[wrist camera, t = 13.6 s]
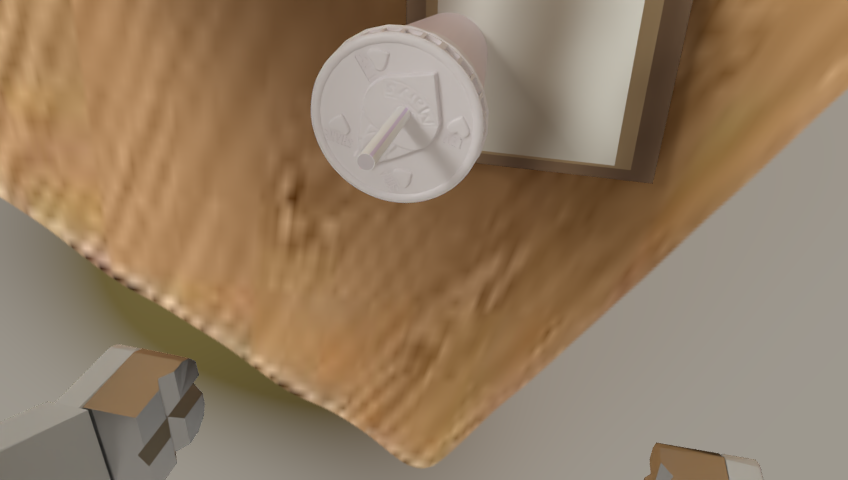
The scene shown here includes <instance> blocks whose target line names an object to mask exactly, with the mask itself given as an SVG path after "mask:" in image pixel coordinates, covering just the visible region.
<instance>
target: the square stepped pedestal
mask: <svg viewBox="0 0 848 480" xmlns="http://www.w3.org/2000/svg"><path fill="white" fill-rule="evenodd" d="M692 3H693V0H407V17H406V25H407V24H410V23H413V22H416V21H419V20H422V19H424V18H427V17H430V16H433V15H436V14H439V13H446V12H449V13H457V14H460V15H463V16H465V17H467V18H468V19H470V20H471V21H472V22H474V23H475V24H476V25H477V26H478V28H479V29H480V30H481V32H482V34H483V36H484V38H485V41H486V44H487V51H488V55H487V66H486V75H485V84H484V91H485V96H486V101H487V105H488V110H489V117H488V133H487V137H486V140H485V143H484V146H483V148H482V151H481V154H480V156H479V157H478V159H477V160H476V162H475V163H480V164H488V165H497V166H506V167H514V168H523V169H532V170H540V171H549V172H557V173H566V174H575V175H583V176H592V177H601V178H609V179H618V180H627V181H635V182H644V183H652V184H653V180H654V175H655V171H656V166H657V162H658V157H659V153H660V148H661V144H662V139H663V135H664V130H665V125H666V121H667V116H668V112H669V107H670V103H671V98H672V94H673V89H674V85H675V80H676V75H677V71H678V66H679V62H680V57H681V53H682V48H683V44H684V39H685V35H686V30H687V25H688V21H689V16H690V12H691V7H692Z"/></svg>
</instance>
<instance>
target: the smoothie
mask: <svg viewBox="0 0 848 480" xmlns="http://www.w3.org/2000/svg"><path fill="white" fill-rule="evenodd" d="M487 55H488V51H487V44H486V41H485V38H484V36H483V34H482V32H481V30H480V29H479V28H478V26H477V25H476V24H475V23H474V22H472V21H471V20H470V19H468V18H467V17H465V16H463V15H460V14H457V13H449V12H446V13H439V14H436V15H433V16H430V17H427V18H424V19H422V20H419V21H416V22H413V23H410V24H407V25H392V24H387V25H383V26H378V27H374V28H369V29H365V30H363V31H362V32H360V33H358V34H356V35H355V36H353V37H351V38H349V39H347V40H346V41H345V42H344V43H343V44H342V45H341V46H340V47H339V48H338V49H337V50H336V51H335V52H334V53H333V54H332V55H331V56H330V57H329V58H328V60H327V61H326V62H325V64H324V65H323V67H322V68H321V70H320V72H319V74H318V76H317V78H316V81H315V84H314V87H313V92H312V98H311V119H312V126H313V130H314V134H315V136H316V139H317V142H318V144H319V146H320V149H321V150H322V152H323V154H324V156H325V157H326V159H327V160H328V162H329V163H330V164H331V166H332V167H333V168H334V169H335V171H336V172H337V173H338V174H339V175H340V176H341V177H343V178H344V179H345V180H346V181H347V182H348V183H350V184H351V185H352V186H354V187H355V188H357V189H359V190H360V191H362V192H364V193H366V194H368V195H371V196H373V197H375V198H379V199H382V200H386V201H390V202H397V203H415V202H422V201H426V200H430V199H433V198H436V197H438V196H440V195H443V194H445V193H446V192H448V191H450V190H451V189H452V188H454V187H455V186H456V185H458V184H459V183H460V182H461V181H462V180H463V179H464V178H465V176H466V175H467V174H468V173H469V171H470V170H471V168H472V167H473V165H474V163H475V162H476V160H477V159H478V157H479V156H480V154H481V151H482V148H483V146H484V143H485V140H486V137H487V133H488V117H489V110H488V105H487V101H486V96H485V91H484V84H485V75H486V66H487Z"/></svg>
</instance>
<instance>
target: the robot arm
mask: <svg viewBox="0 0 848 480" xmlns="http://www.w3.org/2000/svg"><path fill="white" fill-rule="evenodd" d="M198 376H199V373H198V369H197V365H196V362H195V361H194V360H192V359H189V358H185V357H180V356H176V355H171V354H166V353H161V352H156V351H152V350H147V349H140V348H135V347H130V346H125V345H121V344H118V345H115V346H112V347H110V348H109V349H108V350H107V351H106V352H105V353H104V354H103V355H102V356H101V357H100V358H99V359H98V360H97V361H96V362H95V363H94V364H93V365H92V366H91V367H90V368H89V369H88V370H87V371H86V372H85V373H84V374H83V375H82V376H81V377H80V378H79V379H78V380H77V381H76V382H75V383H74V384H73V385H72V386H71V387H70V388H69V389H68V390H67V391H66V392H65V393H64V394H63V395H62V396H61V397H60V398H59V399H58V400H57V401H56V402H55V403H51V402H45V403H42V404H40V405H38V406H36V407H33V408H31V409H29V410H26V411H24V412H22V413H19V414H17V415H15V416H13V417H10V418H8V419H6V420H3V421H1V422H0V480H165V479H166V478H167V476H168V475H169V473H170V472H171V471H172V469H173V468H174V466H175V465H176V463H177V459H176V451H178V450H180V449H181V448H183V447H185V446H187V445H189V444H190V443H191V442H192V440H193V439H194V437H195V436H196V434H197V433H198V431H199V428H200V425H201V422H202V419H203V416H204V398H203V393H202V392H201V391H200V390H199V389H198V388H197V386H196V385H195V384H194V383H193V382H194V381H195V380H196V378H197V377H198ZM650 470H651V474H650V475H648V476H647V477H645V478H644V480H763V476H762V472H761V468H760V465H759V464H758V462H757V461H756V460H754V459H749V458H742V457H737V456H731V455H725V454H721V455H720V454H718V453H713V452H707V451H702V450H696V449H690V448H684V447H678V446H673V445H667V444H661V443H656V444H655V446H654V447H653V450H652V453H651V457H650Z"/></svg>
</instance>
